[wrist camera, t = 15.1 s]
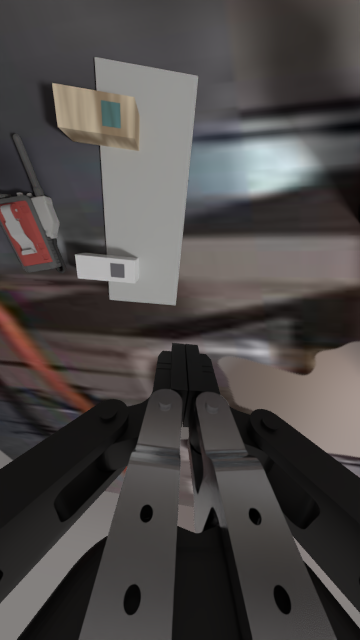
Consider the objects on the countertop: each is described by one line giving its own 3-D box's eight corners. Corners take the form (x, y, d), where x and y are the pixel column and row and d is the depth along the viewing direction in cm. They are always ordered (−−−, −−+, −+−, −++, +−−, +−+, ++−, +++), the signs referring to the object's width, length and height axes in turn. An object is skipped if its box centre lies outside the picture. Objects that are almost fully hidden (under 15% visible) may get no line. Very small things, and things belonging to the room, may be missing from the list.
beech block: (134, 96, 23) (51, 82, 22) (134, 138, 25) (57, 126, 24) (139, 115, 27) (69, 104, 26) (139, 151, 28) (72, 141, 27)
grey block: (134, 260, 31) (74, 254, 30) (134, 283, 33) (77, 278, 32) (138, 258, 35) (85, 252, 34) (138, 278, 37) (87, 273, 36)
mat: (197, 77, 25) (198, 76, 25) (175, 304, 40) (175, 305, 39) (95, 59, 24) (94, 57, 24) (110, 299, 38) (109, 299, 38)
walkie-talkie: (79, 269, 36) (29, 137, 28) (67, 273, 32) (4, 120, 24) (37, 276, 36) (-26, 147, 28) (20, 281, 32) (-59, 133, 24)
